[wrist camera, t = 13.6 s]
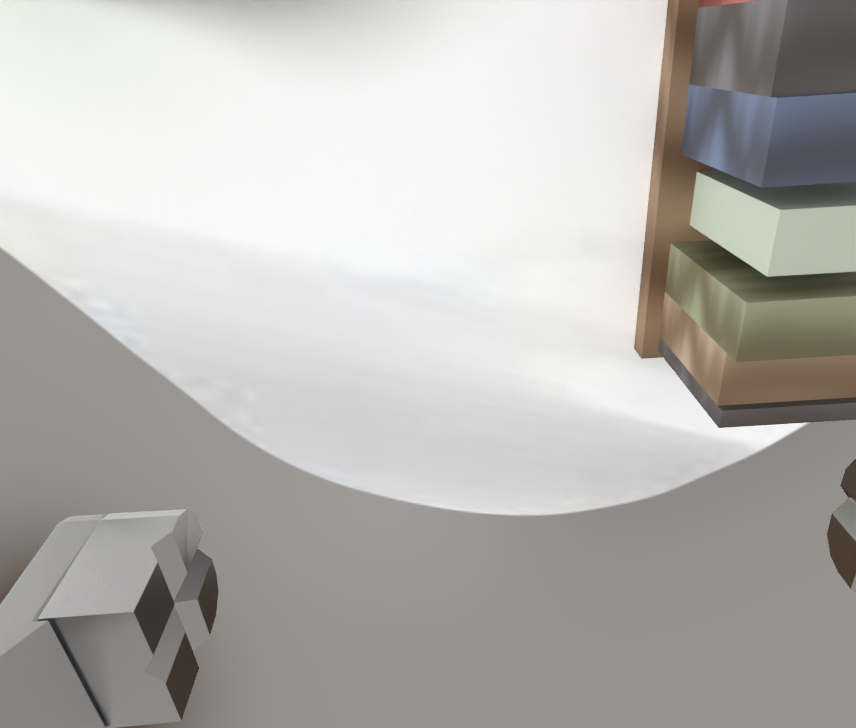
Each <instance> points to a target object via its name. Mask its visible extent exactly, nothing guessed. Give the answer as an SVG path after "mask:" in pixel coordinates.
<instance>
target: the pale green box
mask: <svg viewBox="0 0 856 728" xmlns="http://www.w3.org/2000/svg"><path fill="white" fill-rule="evenodd" d="M690 226H692V227H693V228H695V229H696V230H698V231H699V232H701V233H702V234H704V235H705V236H707V237H708V238H710V239H711V240H713V241H714V242H716V243H717V244H719V245H720V246H722V247H723V248H725V249H726V250H728V251H729V252H731V253H732V254H734V255H735V256H737V257H738V258H740V259H741V260H743V261H744V262H746V263H747V264H749V265H750V266H752V267H753V268H755V269H756V270H758V271H759V272H761V273H762V274H764V275H765V276H767V277H771V276H788V275H805V274H821V273H838V272H855V271H856V182H843V183H828V184H812V185H797V186H782V187H767V188H761V187H758V186H756V185H753V184H751V183H749V182H746V181H744V180H741V179H739V178H737V177H734V176H732V175H730V174H727V173H725V172H722V171H720V170H716V171H699V172H697V174H696V181H695V189H694V196H693V204H692V211H691V218H690Z"/></svg>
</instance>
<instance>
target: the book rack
mask: <svg viewBox="0 0 856 728" xmlns="http://www.w3.org/2000/svg"><path fill="white" fill-rule="evenodd" d="M716 170H720V171H722V172H725V173H727V174H730V175H732V176H734V177H737V178H739V179H741V180H744V181H746V182H749V183H751V184H753V185H756V186H758V187H761V188H767V187H782V186H797V185H812V184H828V183H843V182H856V0H668V9H667V19H666V30H665V40H664V50H663V60H662V71H661V81H660V91H659V101H658V111H657V122H656V132H655V142H654V152H653V162H652V173H651V183H650V193H649V203H648V213H647V224H646V234H645V244H644V254H643V265H642V275H641V285H640V295H639V305H638V316H637V326H636V336H635V346H634V349H635V350H636V351H637V353H638V354H639V356H640V357H641V358H658V357H664V359H665V360H666V361H667V363H668V364H669V365H670V366H671V368H672V369H673V370H674V371H675V373H676V374H677V375H678V376H679V378H680V379H681V380H682V382H683V383H684V384H685V385H686V387H687V388H688V389H689V390H690V392H691V393H692V394H693V396H694V397H695V398H696V399H697V401H698V402H699V403H700V404H701V406H702V407H703V408H704V410H705V411H706V412H707V413H708V415H709V416H710V417H711V418H712V420H713V421H714V422H715V424H716V425H717V426H718V427H719V428H723V427H739V426H756V425H772V424H789V423H805V422H820V421H837V420H854V419H856V271H855V272H838V273H821V274H805V275H788V276H771V277H767V276H765V275H764V274H762V273H761V272H759V271H758V270H756V269H755V268H753V267H752V266H750V265H749V264H747V263H746V262H744V261H743V260H741V259H740V258H738V257H737V256H735V255H734V254H732V253H731V252H729V251H728V250H726V249H725V248H723V247H722V246H720V245H719V244H717V243H716V242H714V241H713V240H711V239H710V238H708V237H707V236H705V235H704V234H702V233H701V232H699V231H698V230H696V229H695V228H693V227H692V226H690V218H691V211H692V204H693V196H694V189H695V181H696V174H697V172H699V171H716Z"/></svg>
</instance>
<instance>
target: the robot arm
mask: <svg viewBox="0 0 856 728" xmlns="http://www.w3.org/2000/svg"><path fill="white" fill-rule="evenodd" d="M841 487H842V489H843V490H844V492H845V493H846V495H847V496H848V499H847V500H846V501H845V502H844V503H843V504H842V505H841V506H840V507H838V508H837V509H836V510H835V511H834V512H833V513H832V515H831V519H830V524H829V528H828V532H827V538H828V544H829V550H830V556H831V558H832V560H833V562H834V564H835V567H836V569H837V571H838V573H839V574H840V575H841V577H842V578H843V579H844V581H845V582H846V583H847V585H848V586H849V587H850V589H851V590H853V591H855V592H856V459H855V460H854V461H853V462H852V463H851V464H850V465H849V466H848V467H847V468H846V469H845V473H844V476H843V479H842V482H841ZM202 535H203V531H202V529H201V526H200V524H199V521H198V518H197V516H196V514H195V513H194V512H192V511H189V510H187V509H186V510H167V511H149V512H129V513H112V514H109V515H86V516H71V517H69V518H67V519H65V520H63V521H61V522H59V523H58V525H57V526H56V527H55V529H54V530H53V531H52V533H51V534H50V536H49V537H48V538H47V540H46V542H45V543H44V544H43V546H42V547H41V548H40V550H39V551H38V553H37V554H36V555H35V557H34V558H33V560H32V561H31V562H30V564H29V565H28V567H27V568H26V569H25V571H24V572H23V574H22V575H21V577H20V578H19V579H18V581H17V582H16V583H15V585H14V586H13V588H12V589H11V590H10V592H9V593H8V595H7V596H6V598H5V599H4V600H3V602H2V603H1V605H0V728H117V727H126V726H137V725H146V724H157V723H166V722H177V721H182V718H183V715H184V712H185V709H186V706H187V703H188V700H189V697H190V694H191V691H192V688H193V685H194V682H195V679H196V676H197V673H198V670H199V666H198V664H197V661H196V658H195V656H194V653H193V651H194V650H195V649H196V648H197V647H198V646H199V645H200V644H201V643H202V642H204V641H205V640H206V639H207V638H208V637H209V636H210V633H211V630H212V627H213V623H214V620H215V617H216V611H217V600H218V584H217V576H216V571H215V568H214V565H213V561H212V559H211V558H209V557H208V556H207V555H205V554H204V553H203V552H201V551H200V550H199V549H197V547H198V545H199V542H200V540H201V537H202Z"/></svg>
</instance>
